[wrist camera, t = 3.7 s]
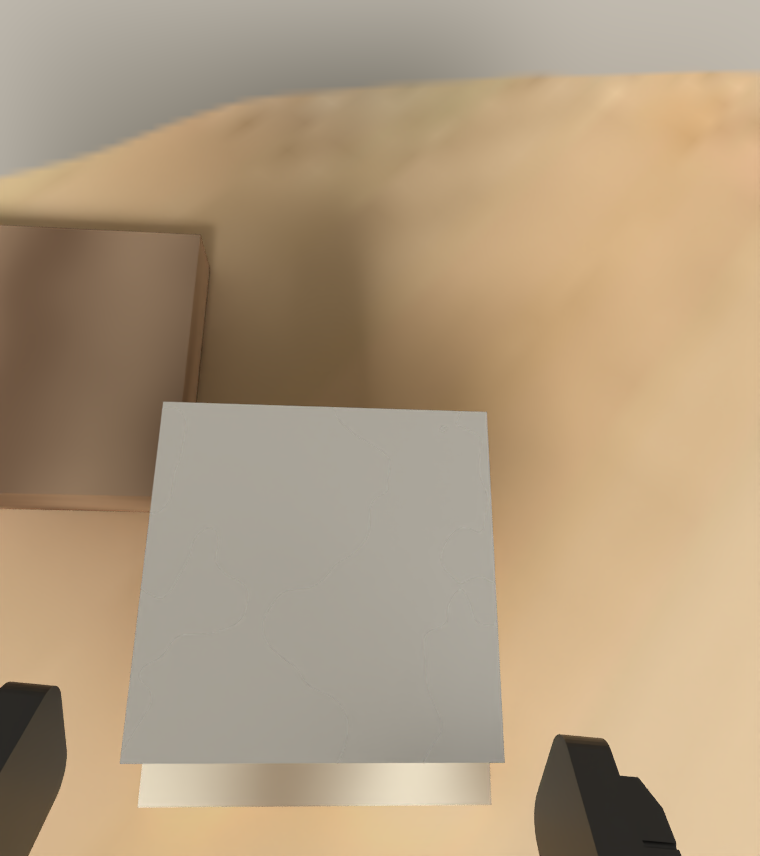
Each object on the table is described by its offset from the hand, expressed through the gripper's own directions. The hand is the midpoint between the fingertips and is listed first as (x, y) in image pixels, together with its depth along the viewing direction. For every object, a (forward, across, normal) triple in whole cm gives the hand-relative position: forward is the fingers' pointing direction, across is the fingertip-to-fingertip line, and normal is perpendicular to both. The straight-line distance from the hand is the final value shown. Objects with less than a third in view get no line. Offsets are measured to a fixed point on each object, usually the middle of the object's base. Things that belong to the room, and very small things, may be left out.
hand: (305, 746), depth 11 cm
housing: (+7, 0, +4) cm, 8 cm away
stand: (+14, +10, 0) cm, 17 cm away
